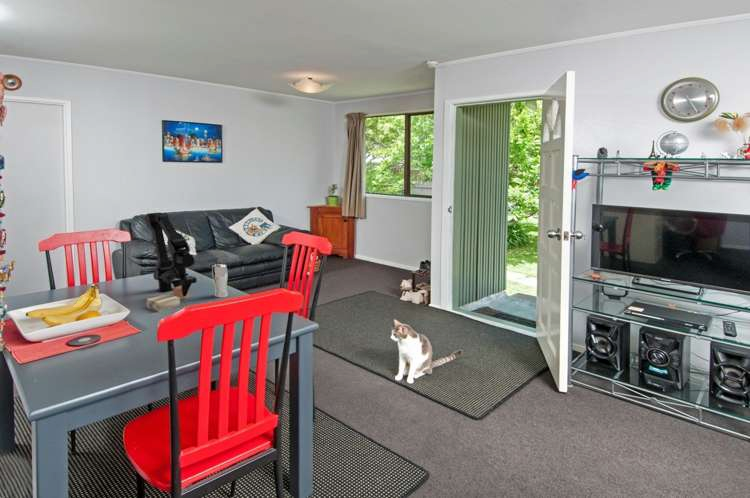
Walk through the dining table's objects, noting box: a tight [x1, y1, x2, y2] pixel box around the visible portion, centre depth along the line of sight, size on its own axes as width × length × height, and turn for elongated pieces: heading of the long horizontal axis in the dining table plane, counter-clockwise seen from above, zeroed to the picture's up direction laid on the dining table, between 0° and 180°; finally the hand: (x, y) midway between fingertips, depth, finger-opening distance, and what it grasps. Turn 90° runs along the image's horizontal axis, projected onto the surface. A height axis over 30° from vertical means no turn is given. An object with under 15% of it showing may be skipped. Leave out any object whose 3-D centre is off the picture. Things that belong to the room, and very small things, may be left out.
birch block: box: [145, 293, 181, 313], centre depth 214 cm, size 10×10×4 cm
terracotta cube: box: [172, 286, 190, 300], centre depth 229 cm, size 5×5×5 cm
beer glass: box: [211, 263, 229, 298], centre depth 230 cm, size 7×7×15 cm
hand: (181, 295), depth 229 cm, fingers closed on terracotta cube, 5 cm apart
